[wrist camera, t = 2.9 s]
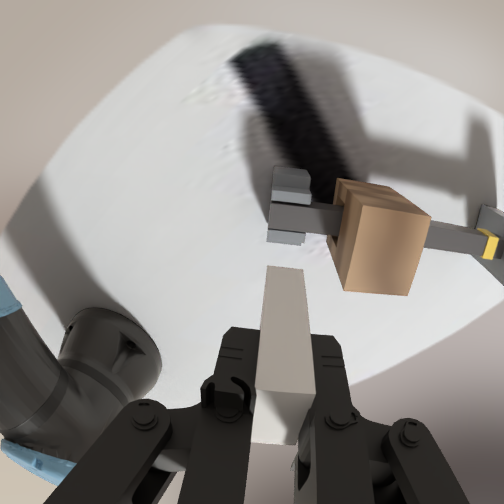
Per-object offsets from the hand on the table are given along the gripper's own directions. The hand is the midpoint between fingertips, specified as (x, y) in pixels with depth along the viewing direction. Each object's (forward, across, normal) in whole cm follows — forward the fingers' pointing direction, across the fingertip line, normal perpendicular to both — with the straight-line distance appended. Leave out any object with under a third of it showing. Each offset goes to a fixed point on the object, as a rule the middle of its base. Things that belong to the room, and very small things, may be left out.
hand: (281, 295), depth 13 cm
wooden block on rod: (+15, +7, 0) cm, 17 cm away
